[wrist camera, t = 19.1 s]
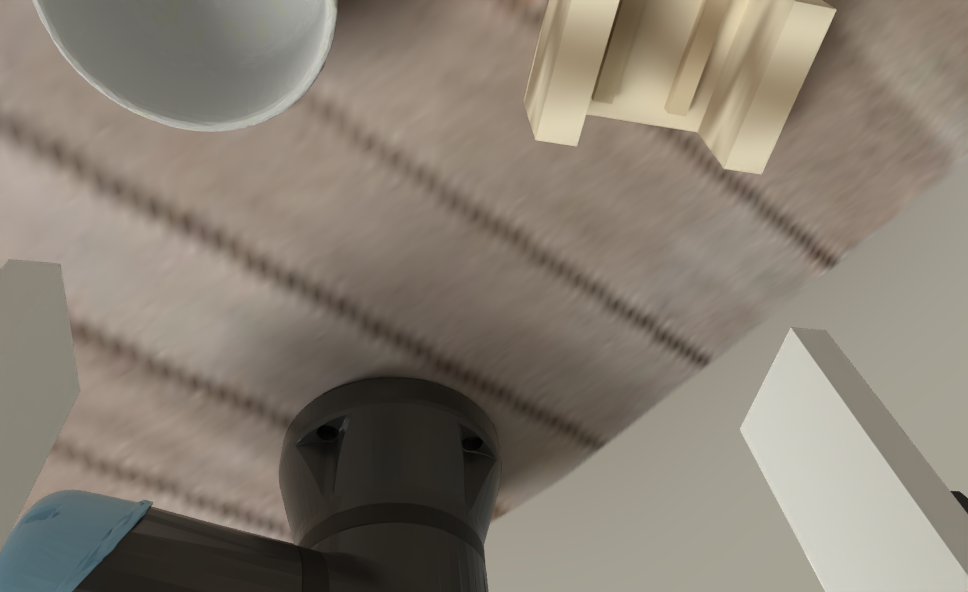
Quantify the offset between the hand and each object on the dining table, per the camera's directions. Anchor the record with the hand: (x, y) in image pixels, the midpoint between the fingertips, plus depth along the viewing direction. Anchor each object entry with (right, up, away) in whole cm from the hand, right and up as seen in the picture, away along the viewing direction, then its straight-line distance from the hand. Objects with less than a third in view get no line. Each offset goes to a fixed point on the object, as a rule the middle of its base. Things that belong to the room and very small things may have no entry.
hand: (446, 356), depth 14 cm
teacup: (-12, +17, +19) cm, 28 cm away
